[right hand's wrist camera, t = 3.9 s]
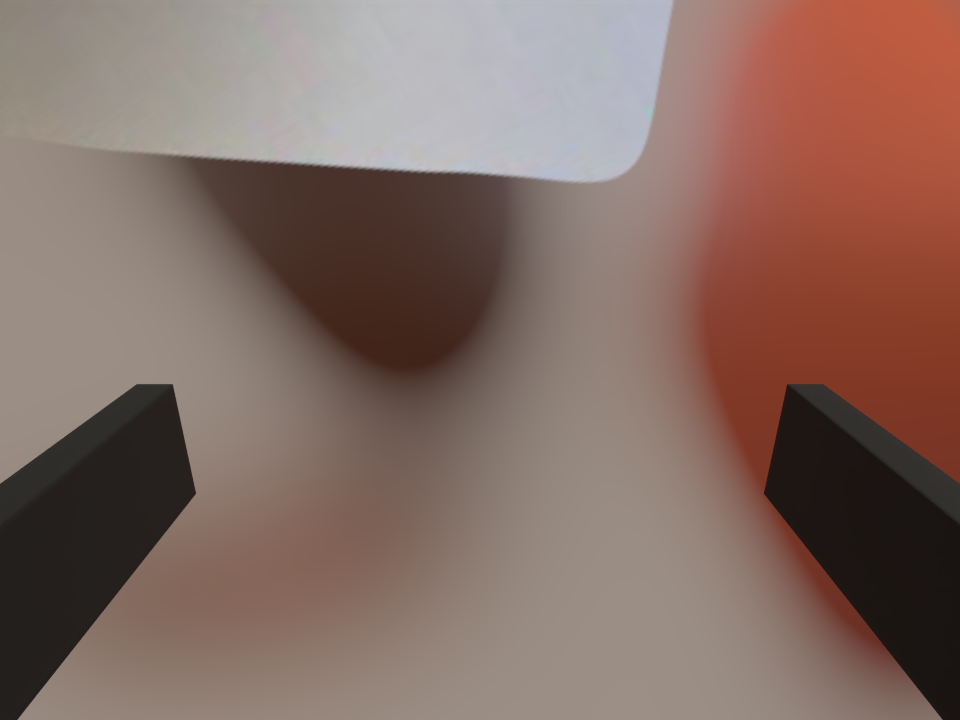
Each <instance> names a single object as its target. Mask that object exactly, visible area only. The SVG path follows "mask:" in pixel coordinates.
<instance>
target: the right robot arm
mask: <svg viewBox="0 0 960 720" xmlns="http://www.w3.org/2000/svg"><path fill="white" fill-rule="evenodd" d="M195 494H196V491H195V487H194V482H193V477H192V473H191V468H190V463H189V458H188V454H187V449H186V444H185V440H184V435H183V430H182V426H181V421H180V416H179V412H178V407H177V402H176V397H175V393H174V388H173V385H172V384H137V385H135V386H134V387H133V388H131V389H130V390H128V391H127V392H126V393H124V394H123V395H122V396H120V397H119V398H117V399H116V400H115V401H113V402H112V403H111V404H109V405H108V406H106V407H105V408H104V409H102V410H101V411H100V412H98V413H97V414H95V415H94V416H93V417H91V418H90V419H89V420H87V421H86V422H85V423H83V424H82V425H80V426H79V427H78V428H76V429H75V430H74V431H72V432H71V433H69V434H68V435H67V436H65V437H64V438H63V439H61V440H60V441H58V442H57V443H56V444H54V445H53V446H52V447H50V448H49V449H47V450H46V451H45V452H43V453H42V454H41V455H39V456H38V457H37V458H35V459H34V460H32V461H31V462H30V463H28V464H27V465H26V466H24V467H23V468H21V469H20V470H19V471H17V472H16V473H15V474H13V475H12V476H10V477H9V478H8V479H6V480H5V481H4V482H2V483H1V484H0V720H17V719H18V718H19V717H20V716H21V714H22V713H23V712H24V710H25V709H26V708H27V707H28V705H29V704H30V703H31V702H32V700H33V699H34V698H35V697H36V695H37V694H38V693H39V692H40V690H41V689H42V688H43V686H44V685H45V684H46V683H47V681H48V680H49V679H50V678H51V676H52V675H53V674H54V673H55V671H56V670H57V669H58V668H59V666H60V665H61V664H62V662H63V661H64V660H65V659H66V657H67V656H68V655H69V654H70V652H71V651H72V650H73V649H74V647H75V646H76V645H77V643H78V642H79V641H80V640H81V638H82V637H83V636H84V635H85V633H86V632H87V631H88V630H89V628H90V627H91V626H92V624H93V623H94V622H95V621H96V619H97V618H98V617H99V616H100V614H101V613H102V612H103V611H104V609H105V608H106V607H107V606H108V604H109V603H110V602H111V600H112V599H113V598H114V597H115V595H116V594H117V593H118V592H119V590H120V589H121V588H122V587H123V585H124V584H125V583H126V581H127V580H128V579H129V578H130V576H131V575H132V574H133V573H134V571H135V570H136V569H137V568H138V566H139V565H140V564H141V563H142V561H143V560H144V559H145V557H146V556H147V555H148V554H149V552H150V551H151V550H152V549H153V547H154V546H155V545H156V544H157V542H158V541H159V540H160V538H161V537H162V536H163V535H164V533H165V532H166V531H167V530H168V528H169V527H170V526H171V525H172V523H173V522H174V521H175V519H176V518H177V517H178V516H179V514H180V513H181V512H182V511H183V509H184V508H185V507H186V506H187V504H188V503H189V502H190V501H191V499H192V498H193V497H194V495H195ZM764 494H765V495H766V497H767V498H768V499H769V501H770V502H771V503H772V504H773V505H774V507H775V508H776V509H777V511H778V512H779V513H780V514H781V516H782V517H783V518H784V519H785V521H786V522H787V523H788V525H789V526H790V527H791V528H792V530H793V531H794V532H795V533H796V535H797V536H798V537H799V538H800V540H801V541H802V542H803V543H804V545H805V546H806V547H807V549H808V550H809V551H810V552H811V554H812V555H813V556H814V557H815V559H816V560H817V561H818V563H819V564H820V565H821V566H822V568H823V569H824V570H825V571H826V573H827V574H828V575H829V576H830V578H831V579H832V580H833V581H834V583H835V584H836V585H837V587H838V588H839V589H840V590H841V592H842V593H843V594H844V595H845V597H846V598H847V599H848V600H849V602H850V603H851V604H852V606H853V607H854V608H855V609H856V611H857V612H858V613H859V614H860V616H861V617H862V618H863V619H864V621H865V622H866V623H867V625H868V626H869V627H870V628H871V630H872V631H873V632H874V633H875V635H876V636H877V637H878V638H879V640H880V641H881V642H882V643H883V645H884V646H885V647H886V649H887V650H888V651H889V652H890V654H891V655H892V656H893V657H894V659H895V660H896V661H897V662H898V664H899V665H900V666H901V668H902V669H903V670H904V671H905V673H906V674H907V675H908V676H909V678H910V679H911V680H912V681H913V683H914V684H915V685H916V687H917V688H918V689H919V690H920V692H921V693H922V694H923V695H924V697H925V698H926V699H927V700H928V702H929V703H930V704H931V706H932V707H933V708H934V709H935V710H936V712H937V713H938V714H939V716H940V717H941V718H942V719H943V720H960V484H959V483H958V482H956V481H955V480H954V479H952V478H951V477H950V476H948V475H947V474H945V473H944V472H943V471H941V470H940V469H939V468H937V467H936V466H934V465H933V464H932V463H930V462H929V461H928V460H926V459H925V458H923V457H922V456H921V455H919V454H918V453H917V452H915V451H914V450H913V449H911V448H910V447H908V446H907V445H906V444H904V443H903V442H902V441H900V440H899V439H897V438H896V437H895V436H893V435H892V434H891V433H889V432H888V431H886V430H885V429H884V428H882V427H881V426H880V425H878V424H877V423H875V422H874V421H873V420H871V419H870V418H869V417H867V416H866V415H864V414H863V413H862V412H860V411H859V410H858V409H856V408H855V407H853V406H852V405H851V404H849V403H848V402H847V401H845V400H844V399H843V398H841V397H840V396H838V395H837V394H836V393H834V392H833V391H832V390H830V389H829V388H827V387H826V386H825V385H823V384H788V385H787V388H786V393H785V397H784V402H783V407H782V412H781V416H780V421H779V426H778V430H777V435H776V440H775V444H774V449H773V454H772V458H771V463H770V468H769V473H768V477H767V482H766V487H765V491H764Z"/></svg>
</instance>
